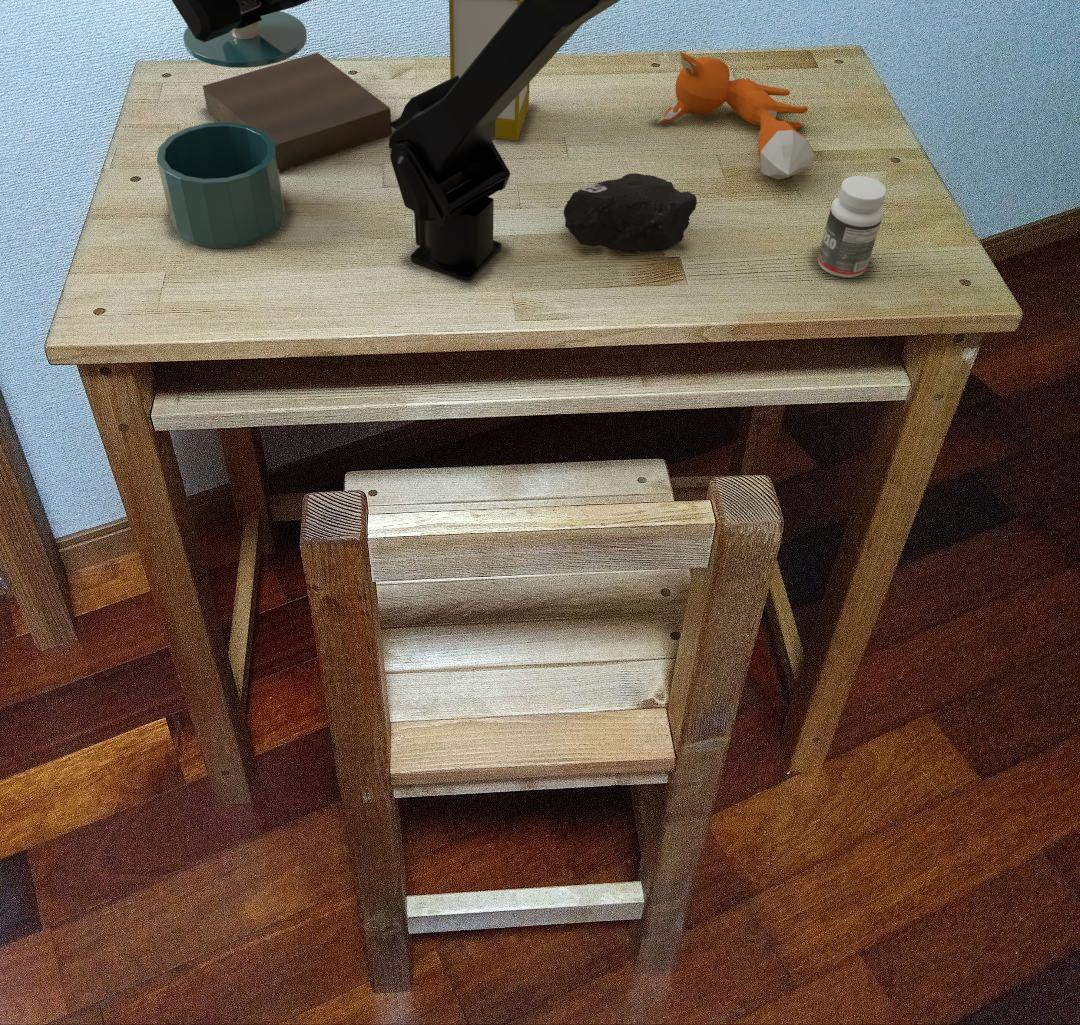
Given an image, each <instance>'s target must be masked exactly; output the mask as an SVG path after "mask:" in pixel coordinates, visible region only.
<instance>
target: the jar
mask: <svg viewBox="0 0 1080 1025" xmlns="http://www.w3.org/2000/svg"><path fill="white" fill-rule="evenodd" d="M156 163H157V167H158V171H159V175H160V180H161V184H162V188H163V194H164V197H165V201H166V205H167V210H168V214H169V218H170V222H171V223H172V226H173V229H174V231H175V232H176V234H177V235H178V236H179V237H180V238H182V239H183V240H184V241H186V242H188V243H190V244H193V245H196V246H198V247H201V248H208V249H218V250H219V249H222V250H223V249H226V250H227V249H235V248H242V247H246V246H247V247H248V246H250V245H253V244H256V243H259V242H261V241H264V240H265V239H267V238H269V237H270V236H272V235H273V234H274V233H275V232H277V231H278V230H279V228H280V227H281V226H282V224H283V223H284V219H285V215H286V213H285V201H284V195H283V194H284V193H283V187H282V181H281V180H282V179H281V174H280V173H281V172H279V165H278V159H277V152H276V145H275V142H274V141H273V140H272V139H271V138H270V136H269V135H268V134H267V133H266V132H264V131H262V130H259V129H257V128H255V127H253V126H250V125H245V124H239V123H233V122H206V123H200V124H197V125H193V126H188V127H186V128H183V129H181V130H180V131H178V132H176V133H174V134H171V135H170V136H168V137H167V138H166V139H165V140H164V141H163V143H161V145H159V147H158V148H157V157H156Z"/></svg>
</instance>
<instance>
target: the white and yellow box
mask: <svg viewBox="0 0 1080 1025" xmlns="http://www.w3.org/2000/svg"><path fill="white" fill-rule="evenodd" d="M522 1H523V0H448V16H449V17H448V20H449V21H448V22H449V24H448V25H449V27H448V28H449V66H450V68H449V69H450V70H449V71H450V72H449V73H450V74H449V75H450V76H449V77H450V78H449V79H451V78H453V77H455V76H457V75H458V76H459V78H460V77H461V76H462V75H463V73H464V72H465V71H466V70H467V68H468V67H469V66H470V65H471V63H472V62H473V61H474V60H475V59H476V57H477V56H478V55H479V54H480V52H481V51H482V50H483V49H484V47H485V46H486V45H487V44H488V42H489V41H490V40H491V39H492V38H493V36H494V35H495V34H496V33H497V31H498V30H499V29H500V28H501V26H502V25H503V24H504V23H505V22H506V20H507V19H508V18H509V17H510V15H511V14H512V13H513V12H514V10H515V9H516V8H517V7H518V5H519V4H520V3H521V2H522ZM529 108H530V82H529V83H528V84H527V86H526V87H525V88H524V89H523V90H522V91H521V92H520V93H519V94H518V95H517V97H516V98H515V99H514V100H513V101H512V102H511V103H510V104H509V105H508V106H507V108H506V109H505V110H504V111H503V112H502V113H501V114H500V115H499V116H498V117H497V119H496V121H495V131H496V133H495V137H494V139H500V140H501V139H502V140H510V141H518V140H519V138H520V134H521V131H522V129H523V126H524V123H525V120H526V118H527V117H526V116H527V114H528V111H529Z"/></svg>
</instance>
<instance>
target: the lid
mask: <svg viewBox="0 0 1080 1025" xmlns="http://www.w3.org/2000/svg"><path fill="white" fill-rule="evenodd" d="M260 17H261V18H262V20H261V21H259V22H256V23H254V24H251V25H249V26H246V27H244V28H241V29H235V28H234V29H233V30H231V31H230V32H228V33H227V34H224V35H222V36H219V37H217V38H214V39H212V40H209V41H207V42H202V41H200V40H198V39H196V38H195V37H194V35H193V33H192V32H191V30H190V29H189V27H188V26H187V27H186V29H185V30H184V32H183V37H182V39H183V44H184V45H183V46H184V47H185V50H186V51H187V53H189V55H191V56H192V57H193V58H195V59H196V60H198V61H201V62H203V63H206V64H209V65H213V66H218V67H222V68H223V67H224V68H231V69H247V68H258V67H264V66H271V65H275V64H278V63H281V62H284V61H286V60H288V59H289V58H292V57H293V56H295V55H297V54H298V53H299V52H301V51H302V50H303V49H304V47H305V45H306V44H307V40H308V33H307V32H308V31H307V28H306V26H305V25H304V23H303V22H302V21H301V20H300V19H299V18H298V17H296V16H294V15H292V14H290V13H287V12H286V11H283V10H281V11H278V12H274V13H270V14H267V15H263V16H260Z"/></svg>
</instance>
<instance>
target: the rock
mask: <svg viewBox="0 0 1080 1025" xmlns="http://www.w3.org/2000/svg"><path fill="white" fill-rule="evenodd" d="M697 204H698V199H697V196H696V194H694V193H691V192H690V191H679V190H678V189H676V188H675V187H674V184H673V183H672V181H667V180H666V179H664V178H661V177H658V176H656V175H650V174H642V173H636V172H633V173H632V172H631V173H627V174H625V175H623V176H622V177H620V178H616V179H608V180H607V179H606V180H604V181H600V182H597V183H593V184H591V185H589V186H586V187H583V188H580V189H578V190H577V191H575V192H573V193H572V194H571V196H570V198H569V199H568V200H567V201H566V204H565V205H564V208H563V216H564V220H565V222H564V227H565V228H566V229H568V232H569V233H570V235H572V236H573V237H574V238H575V239H576V240H577V242H578V243H579V245H582V246H587V247H599V246H600V247H603V248H606V249H608V250H612V251H618V252H621V253H625V254H634V253H638V252H642V253H643V252H661V251H667V250H670V249H672V248H674V247H675V245H678V244H680V243H681V242H683V239H684V237H685V236H684V234H685V231H686V230H687V228H688V227H689V225H690V216H691V215H692V214H693V212H694V211H695V210H696V209H697Z"/></svg>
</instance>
